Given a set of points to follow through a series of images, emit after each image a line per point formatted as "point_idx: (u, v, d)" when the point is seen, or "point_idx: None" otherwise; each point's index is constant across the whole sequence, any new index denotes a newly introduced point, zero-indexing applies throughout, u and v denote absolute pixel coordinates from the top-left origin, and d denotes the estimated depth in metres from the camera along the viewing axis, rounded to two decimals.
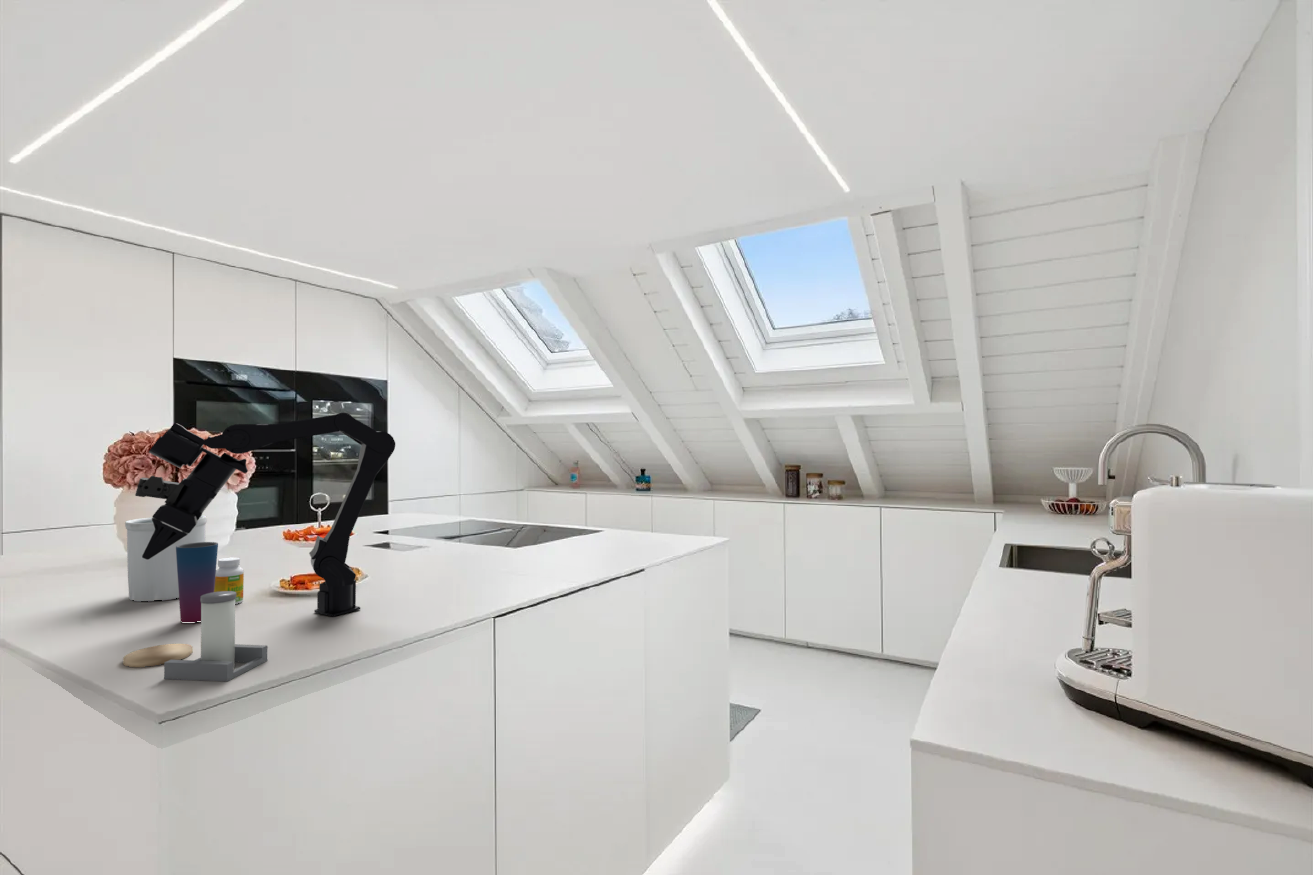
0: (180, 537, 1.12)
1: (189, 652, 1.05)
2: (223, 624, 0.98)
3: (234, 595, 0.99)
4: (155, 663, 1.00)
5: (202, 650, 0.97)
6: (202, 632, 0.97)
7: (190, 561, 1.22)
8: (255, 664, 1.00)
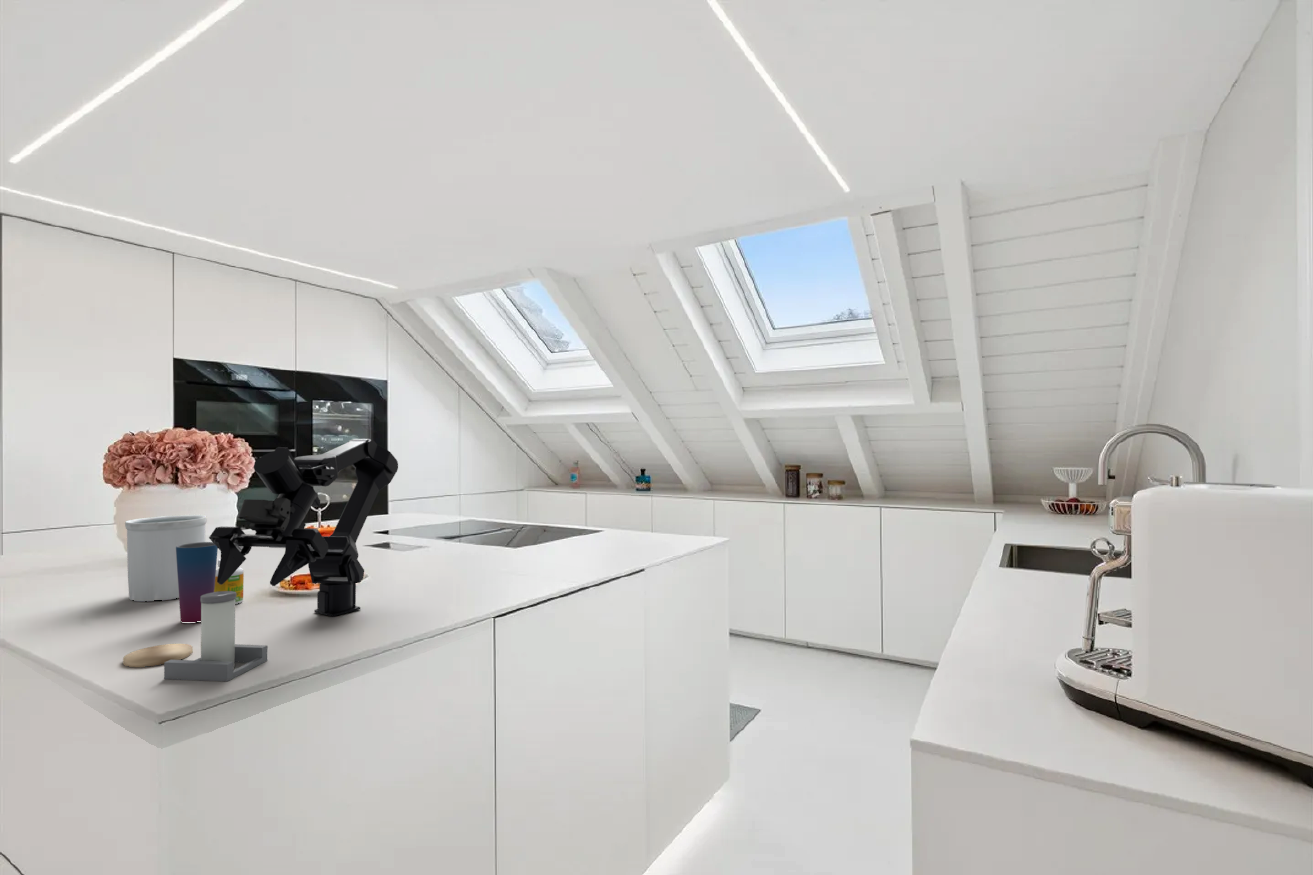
0: (306, 563, 1.10)
1: (189, 652, 1.05)
2: (223, 624, 0.98)
3: (234, 595, 0.99)
4: (155, 663, 1.00)
5: (202, 650, 0.97)
6: (202, 632, 0.97)
7: (190, 561, 1.22)
8: (255, 664, 1.00)
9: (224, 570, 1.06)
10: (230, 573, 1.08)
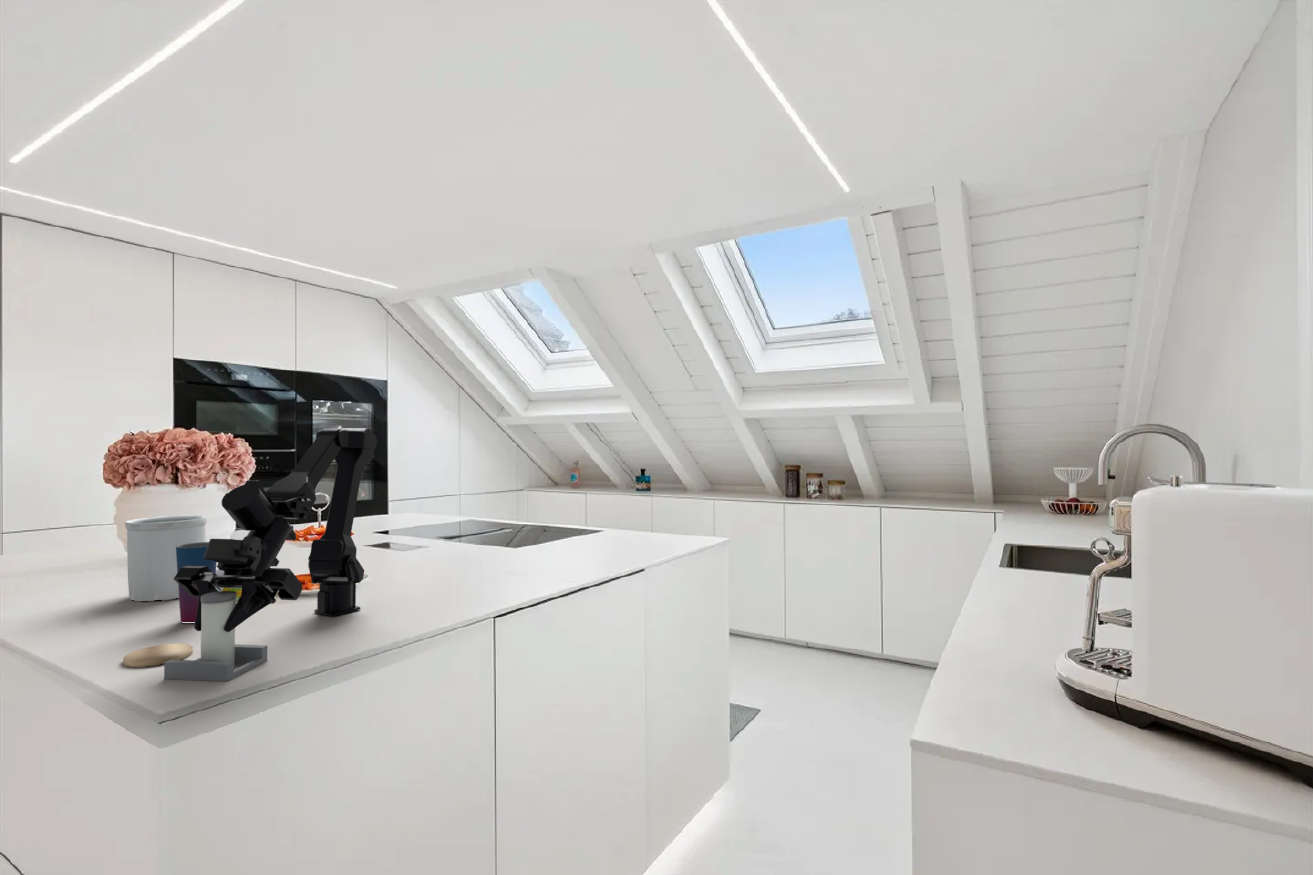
0: (265, 605, 1.03)
1: (189, 652, 1.05)
2: (223, 624, 0.98)
3: (234, 595, 0.99)
4: (155, 663, 1.00)
5: (202, 650, 0.97)
6: (202, 632, 0.97)
7: (190, 561, 1.22)
8: (255, 664, 1.00)
9: None
10: None
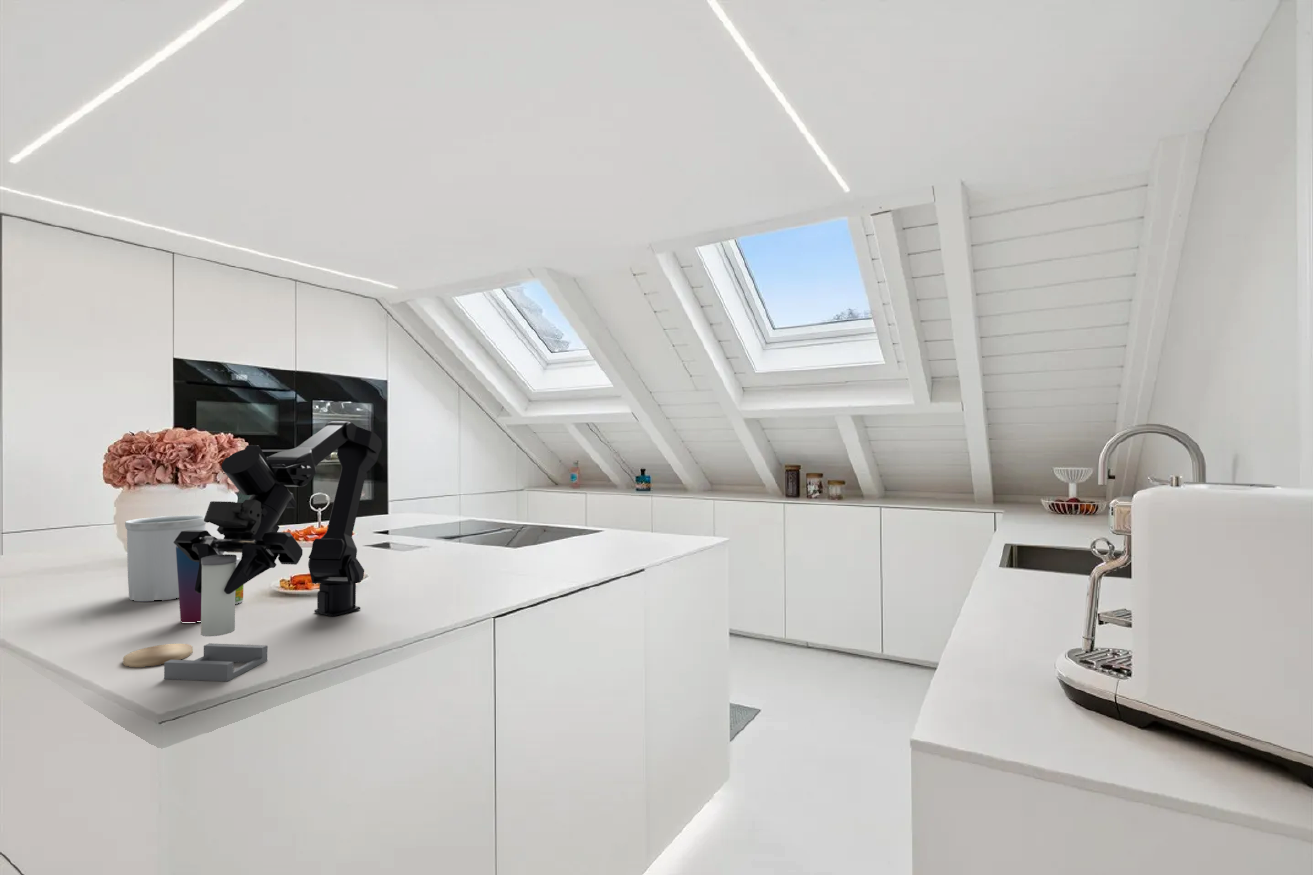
0: (265, 569, 1.03)
1: (189, 652, 1.05)
2: (224, 586, 0.98)
3: (235, 558, 0.99)
4: (155, 663, 1.00)
5: (202, 612, 0.97)
6: (202, 594, 0.97)
7: (190, 561, 1.22)
8: (255, 664, 1.00)
9: None
10: None
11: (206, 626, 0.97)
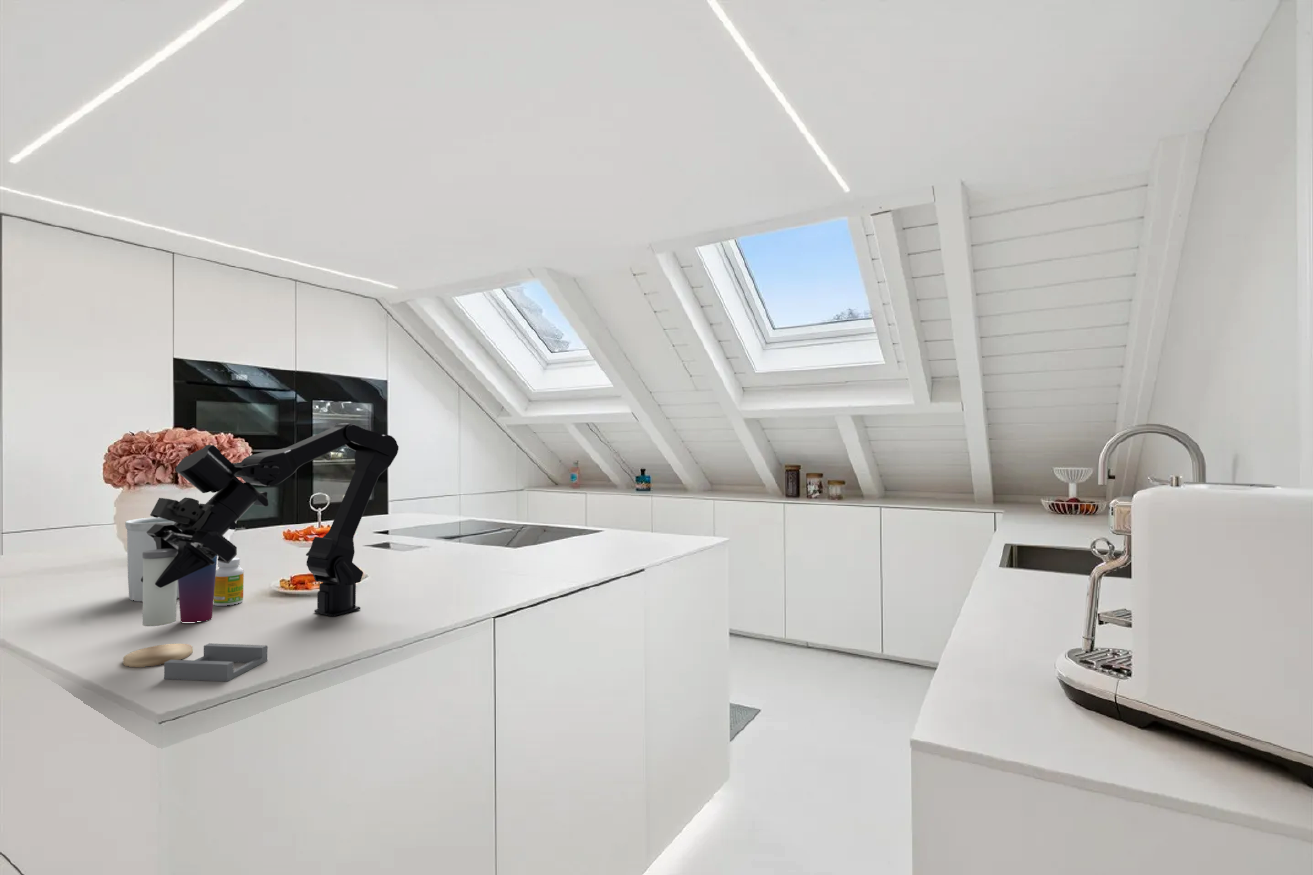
0: (204, 566, 1.06)
1: (189, 652, 1.05)
2: (157, 579, 1.02)
3: (171, 553, 1.03)
4: (155, 663, 1.00)
5: None
6: (143, 585, 1.03)
7: None
8: (255, 664, 1.00)
9: None
10: None
11: (143, 616, 1.02)
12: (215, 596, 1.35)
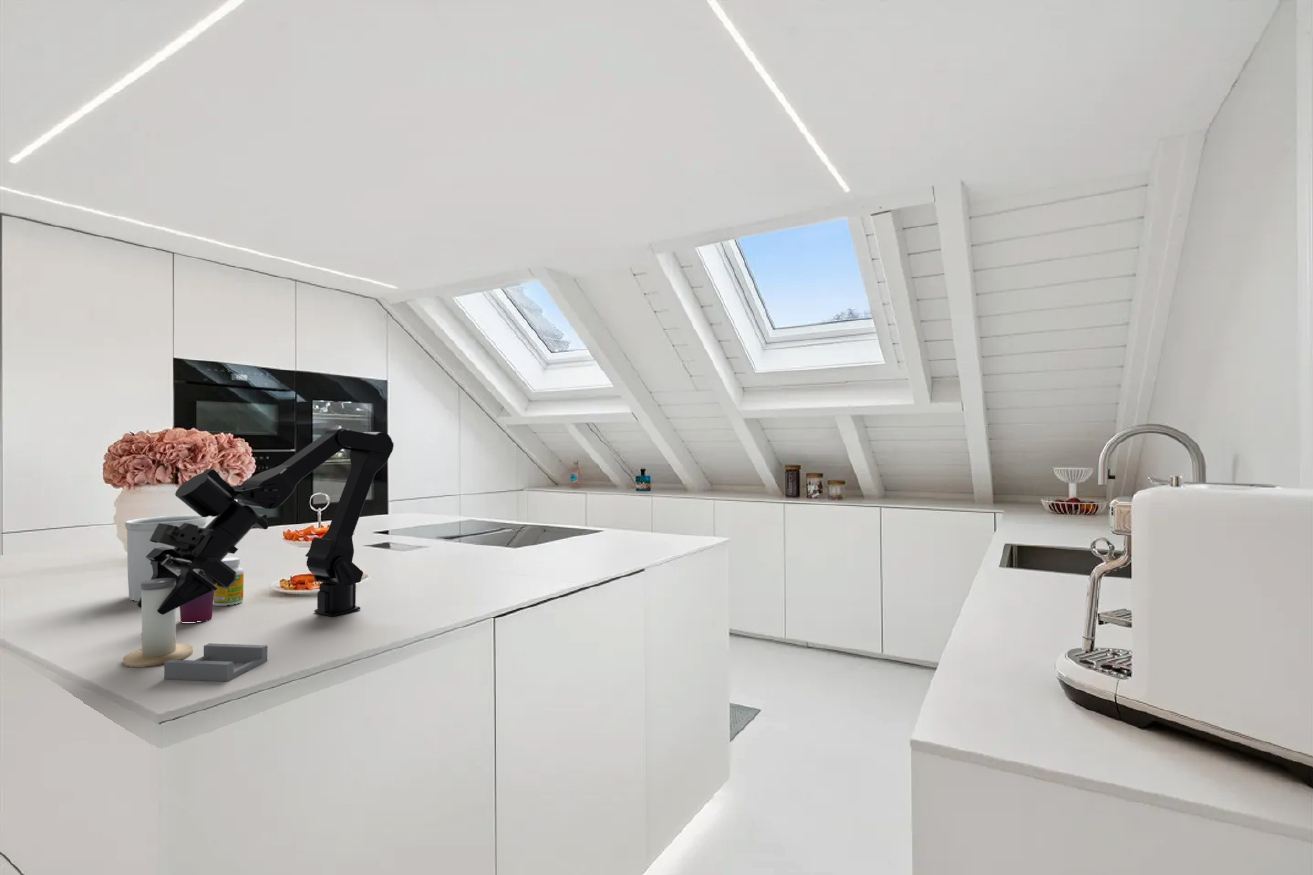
0: (206, 591, 1.05)
1: (189, 652, 1.05)
2: (155, 610, 1.02)
3: (169, 583, 1.03)
4: (155, 663, 1.00)
5: None
6: (142, 616, 1.03)
7: None
8: (255, 664, 1.00)
9: None
10: None
11: (142, 647, 1.02)
12: (215, 596, 1.35)
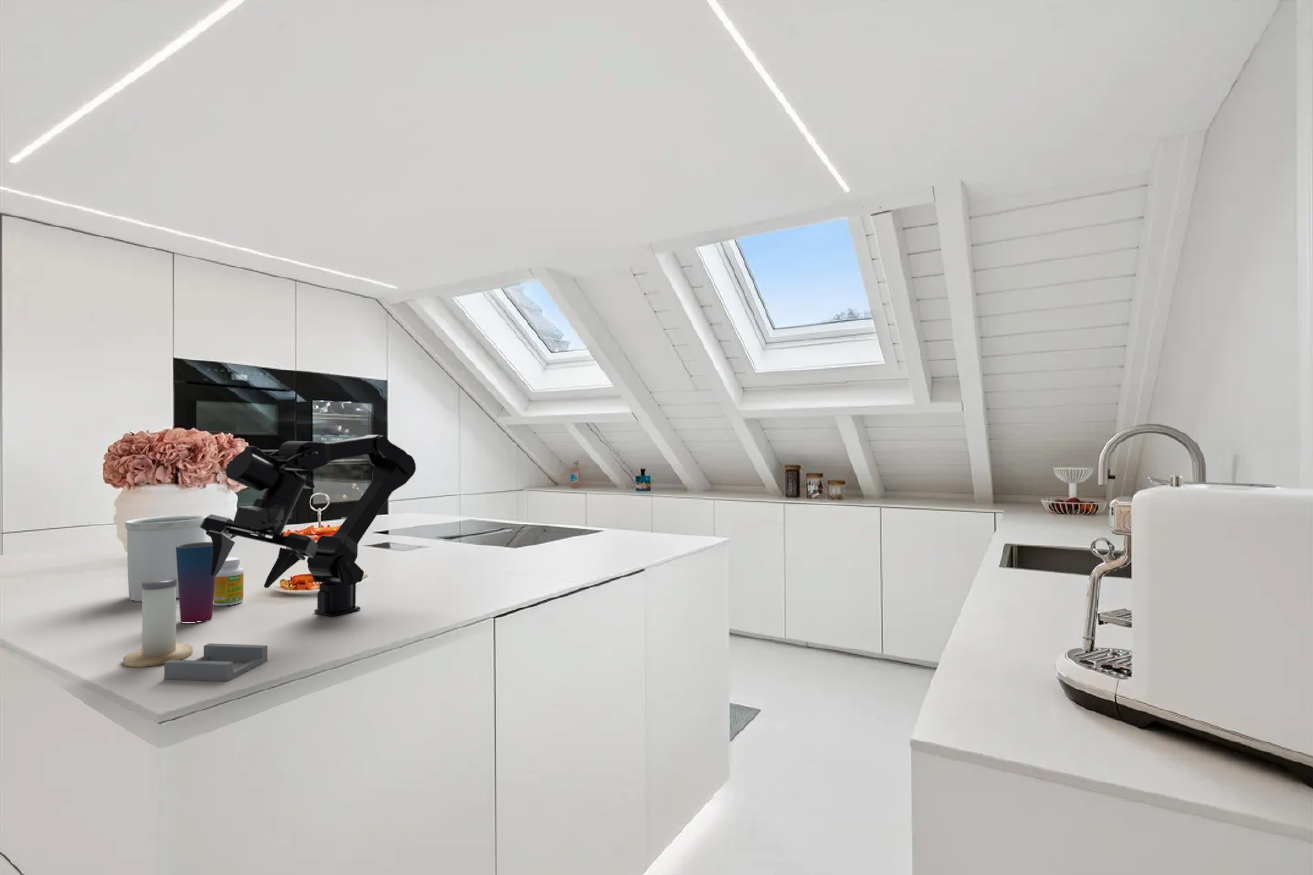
0: (295, 561, 1.18)
1: (189, 652, 1.05)
2: (156, 610, 1.02)
3: (170, 583, 1.03)
4: (155, 663, 1.00)
5: (142, 632, 1.03)
6: (142, 615, 1.03)
7: (190, 561, 1.22)
8: (255, 664, 1.00)
9: (217, 564, 1.13)
10: (222, 563, 1.14)
11: (143, 647, 1.02)
12: (215, 596, 1.35)
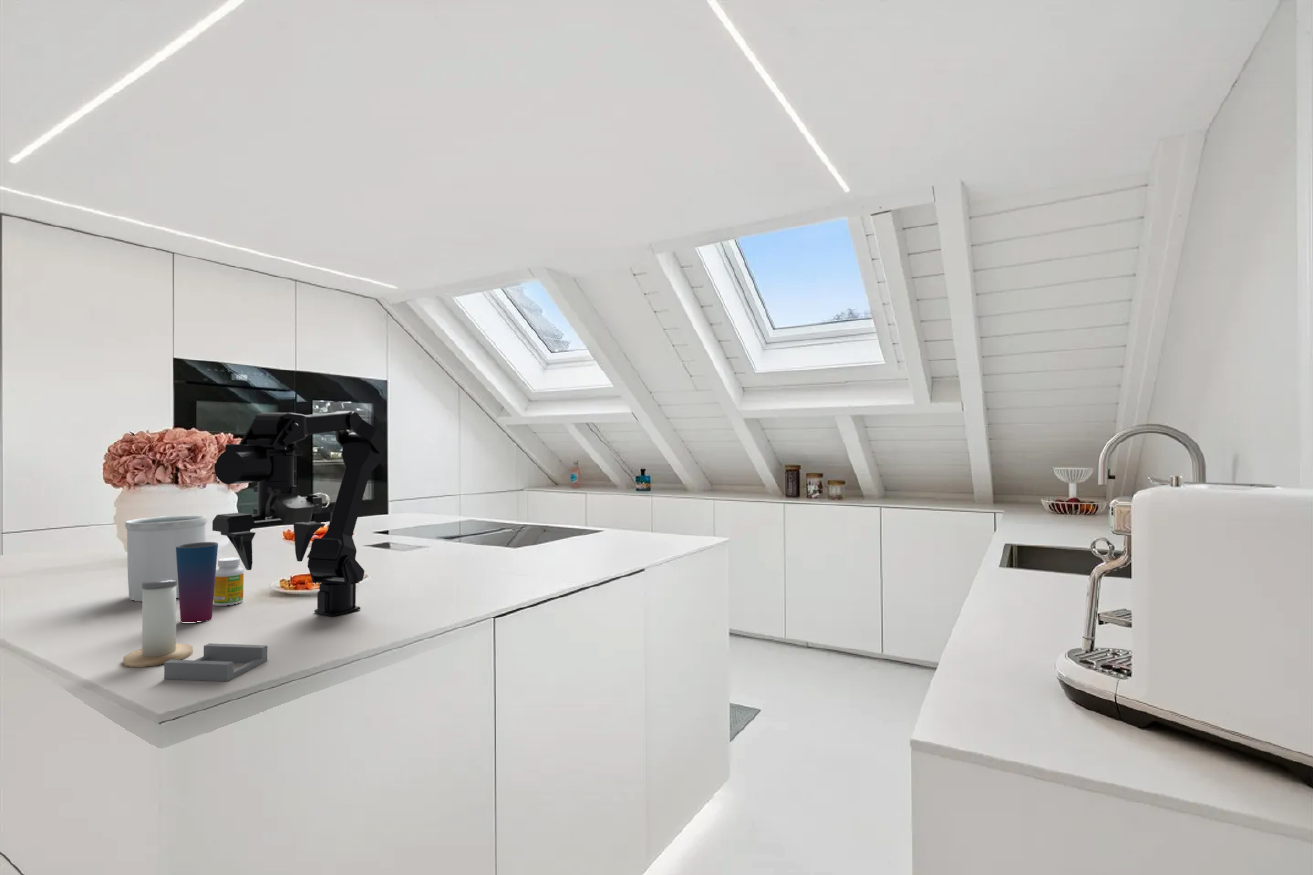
0: None
1: (189, 652, 1.05)
2: (156, 610, 1.02)
3: (170, 583, 1.03)
4: (155, 663, 1.00)
5: (142, 632, 1.03)
6: (142, 615, 1.03)
7: (190, 561, 1.22)
8: (255, 664, 1.00)
9: (251, 558, 1.11)
10: None
11: (143, 647, 1.02)
12: (215, 596, 1.35)
